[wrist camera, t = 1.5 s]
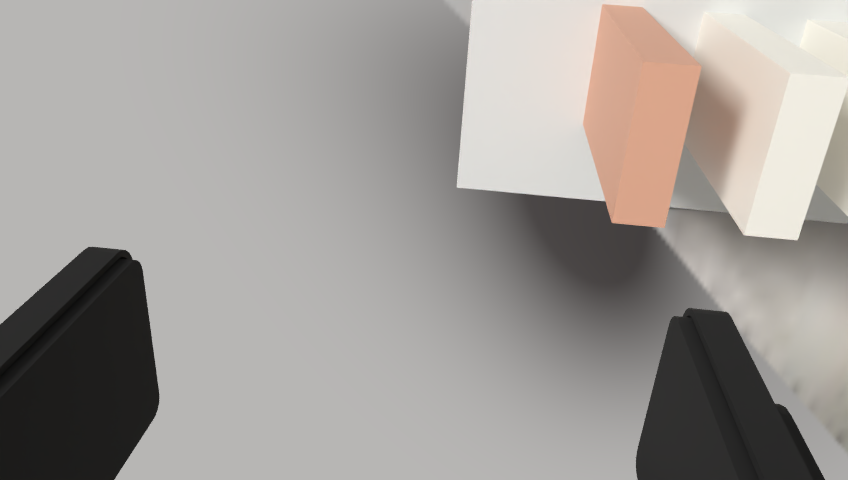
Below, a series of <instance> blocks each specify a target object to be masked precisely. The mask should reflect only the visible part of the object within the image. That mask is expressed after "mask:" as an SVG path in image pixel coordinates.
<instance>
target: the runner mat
mask: <svg viewBox="0 0 848 480" xmlns="http://www.w3.org/2000/svg"><path fill="white" fill-rule="evenodd" d="M602 4H607V5H621V6H634V7H643V8H644V9H645V10H646V11H647V12H648V13H649V14H650V15H651V16H652V17H653V18H654V19H655V20H656V21H657V22H658V23H659V24H660V25H661V26H662V27H663V28H664V29H665V30H666V31H667V32H668V33H669V34H670V35H671V36H672V37H673V38H674V39H675V40H676V41H677V42H678V43H679V44H680V45H681V46H682V47H683V48H684V49H685V50H686V51H687V52H688V53H689V54H690V55H691V56H692V57H693V58H694V54H695V49H696V45H697V40H698V36H699V31H700V27H701V22H702V18H703V14H704V12H714V13H727V14H741V15H746V16H748V17H750V18H751V19H753V20H755V21H756V22H758V23H760V24H761V25H763V26H765V27H766V28H768V29H770V30H771V31H773V32H775V33H776V34H778V35H780V36H781V37H783V38H785V39H786V40H788V41H790V42H791V43H793V44H795V45H796V46H798V47H800V44H801V40H802V37H803V33H804V30H805V26H806V23H807V19H808V20H821V21H834V22H848V0H472V10H471V22H470V34H469V46H468V58H467V59H468V60H467V70H466V83H465V94H464V107H463V119H462V130H461V142H460V155H459V166H458V178H457V188H467V189H477V190H489V191H499V192H510V193H521V194H531V195H543V196H553V197H564V198H576V199H585V200H596V201H605V197H604V194H603V190H602V187H601V184H600V180H599V177H598V174H597V170H596V167H595V163H594V160H593V157H592V153H591V150H590V147H589V143H588V140H587V136H586V133H585V130H584V126H583V120H584V114H585V108H586V101H587V95H588V89H589V83H590V77H591V70H592V64H593V58H594V52H595V46H596V40H597V33H598V27H599V21H600V15H601V9H602ZM669 207H672V208H682V209H693V210H704V211H715V212H726V213H729V212H728V210H727V208H726V207H725V205H724V204H723V202H722V201H721V199H720V198H719V196H718V195H717V193H716V192H715V190H714V188H713V187H712V185H711V184H710V182H709V181H708V179H707V178H706V176H705V175H704V173H703V172H702V170H701V168H700V167H699V165H698V164H697V162H696V161H695V159H694V158H693V156H692V155H691V153H690V152H689V150H688V148H687V147H686V145H685V144H684V145H683V150H682V154H681V158H680V163H679V167H678V171H677V176H676V180H675V184H674V189H673V193H672V197H671V202H670V206H669ZM804 220H812V221H823V222H833V223H844V224H848V216H847V215H846V214H845V213H844V212H843V211H842V210H841V209H840V208H839V207H838V206H837V205H836V204H835V203H834V202H833V201H832V200H831V199H830V198H829V197H828V196H827V195H826V194H825V193H824V192H823V191H822V190H821V189H820V188H819V187H818V186H817V185H816V186H815V189H814V192H813V195H812V198H811V201H810V204H809V207H808V210H807V213H806V216H805V219H804Z"/></svg>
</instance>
